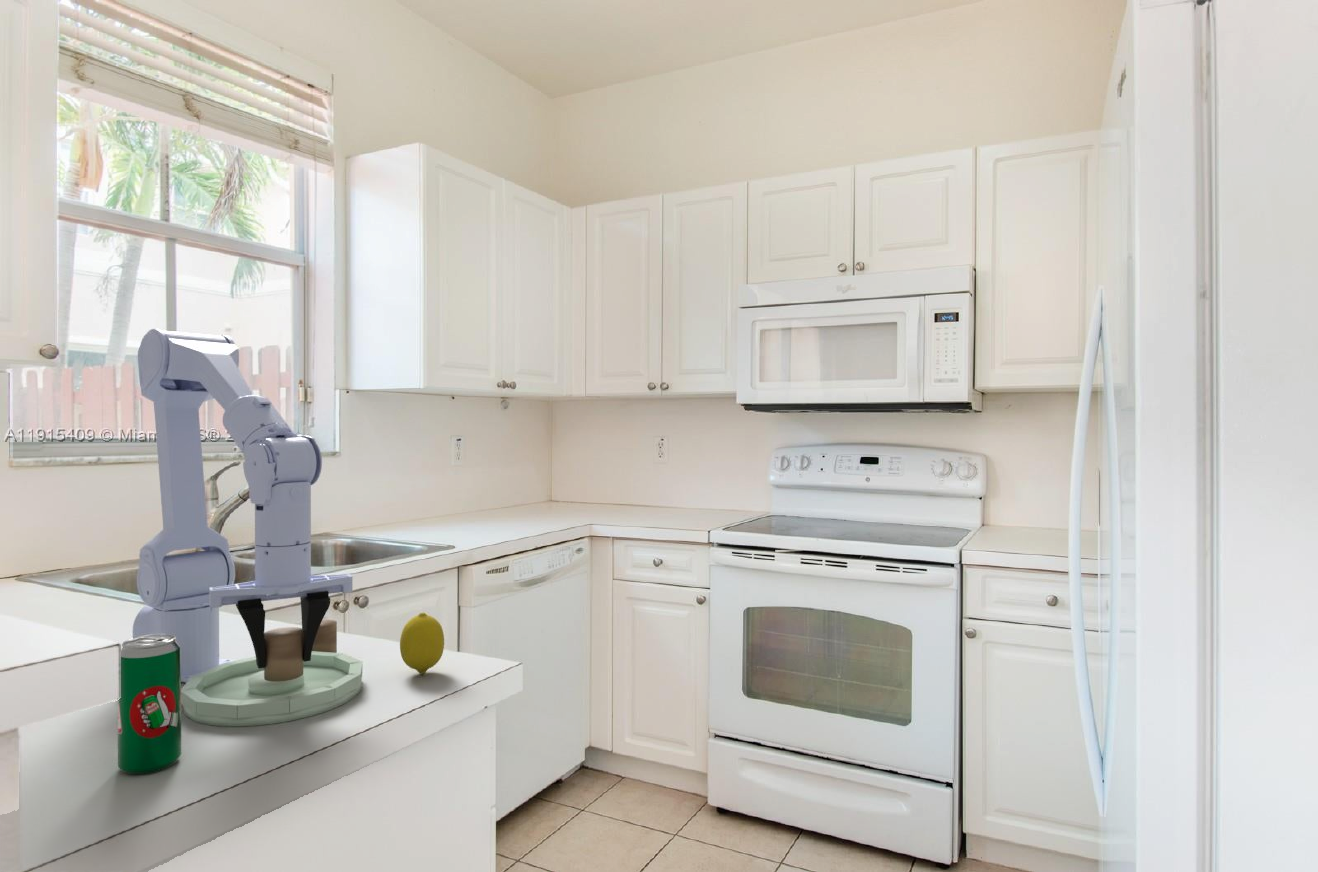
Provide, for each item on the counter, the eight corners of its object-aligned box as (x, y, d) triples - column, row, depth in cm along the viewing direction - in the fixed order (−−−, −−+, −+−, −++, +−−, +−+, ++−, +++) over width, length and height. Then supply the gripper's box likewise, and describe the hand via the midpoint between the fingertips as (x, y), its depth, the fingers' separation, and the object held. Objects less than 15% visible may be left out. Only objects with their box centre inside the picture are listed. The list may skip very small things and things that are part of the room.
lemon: (431, 682, 98) (431, 619, 97) (391, 678, 99) (391, 616, 99) (451, 668, 103) (451, 608, 103) (413, 665, 104) (413, 606, 104)
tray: (141, 718, 85) (141, 696, 85) (262, 665, 104) (262, 647, 104) (294, 733, 81) (294, 710, 81) (391, 675, 100) (391, 656, 100)
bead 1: (268, 671, 89) (268, 628, 89) (306, 668, 90) (306, 626, 90) (260, 682, 85) (259, 637, 85) (299, 679, 86) (299, 635, 86)
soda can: (137, 754, 76) (137, 632, 76) (191, 752, 76) (191, 632, 76) (105, 777, 71) (104, 648, 71) (163, 776, 71) (162, 647, 71)
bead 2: (298, 662, 105) (298, 626, 105) (317, 654, 109) (317, 619, 109) (324, 665, 104) (325, 628, 104) (342, 656, 108) (342, 620, 108)
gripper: (212, 553, 80) (212, 683, 81) (358, 542, 88) (358, 660, 89) (207, 544, 86) (208, 665, 86) (345, 534, 94) (345, 645, 94)
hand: (283, 662), depth 88 cm, fingers closed on bead 1, 4 cm apart
